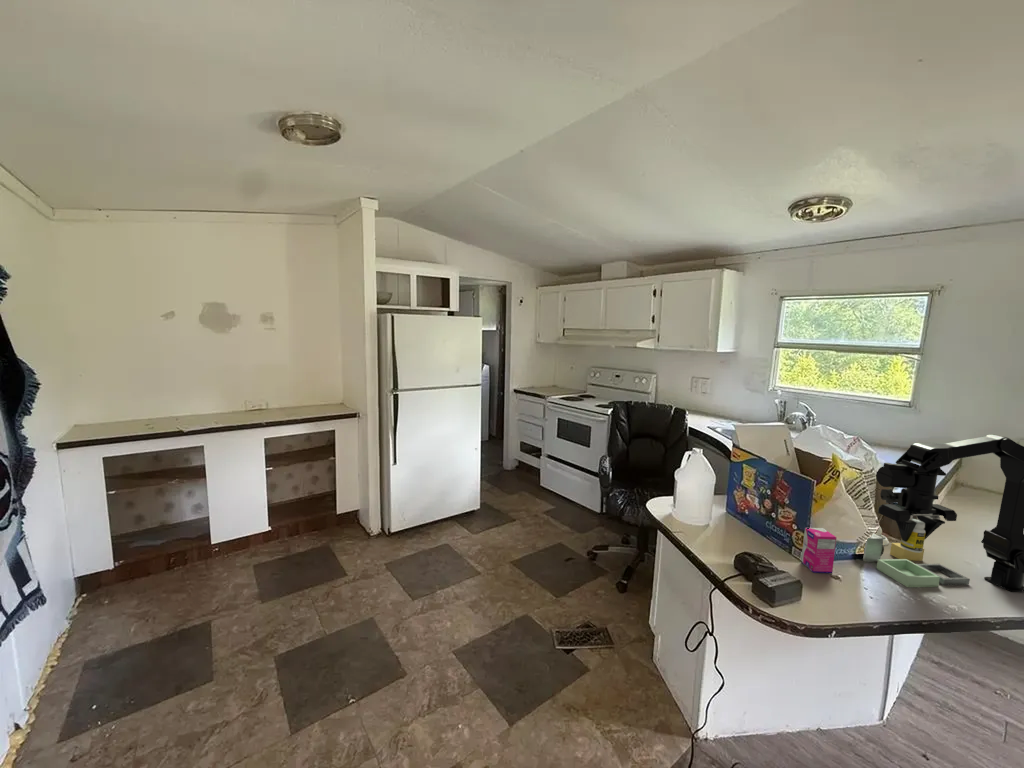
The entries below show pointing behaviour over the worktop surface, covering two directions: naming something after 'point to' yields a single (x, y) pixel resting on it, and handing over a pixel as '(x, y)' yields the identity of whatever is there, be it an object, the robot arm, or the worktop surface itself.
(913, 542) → the supplement bottle
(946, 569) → the pin socket
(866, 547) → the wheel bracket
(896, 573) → the tray
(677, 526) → the worktop surface
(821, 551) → the supplement box
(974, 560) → the worktop surface
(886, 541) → the hook
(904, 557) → the block
